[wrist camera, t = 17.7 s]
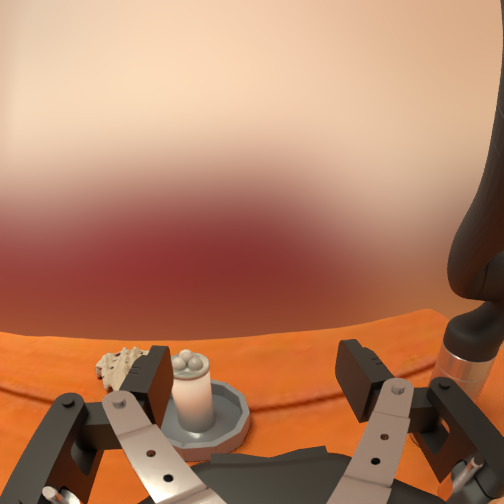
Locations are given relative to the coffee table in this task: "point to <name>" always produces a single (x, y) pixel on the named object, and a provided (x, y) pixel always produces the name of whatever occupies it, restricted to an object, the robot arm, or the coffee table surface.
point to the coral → (117, 366)
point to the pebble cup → (192, 391)
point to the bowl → (220, 435)
